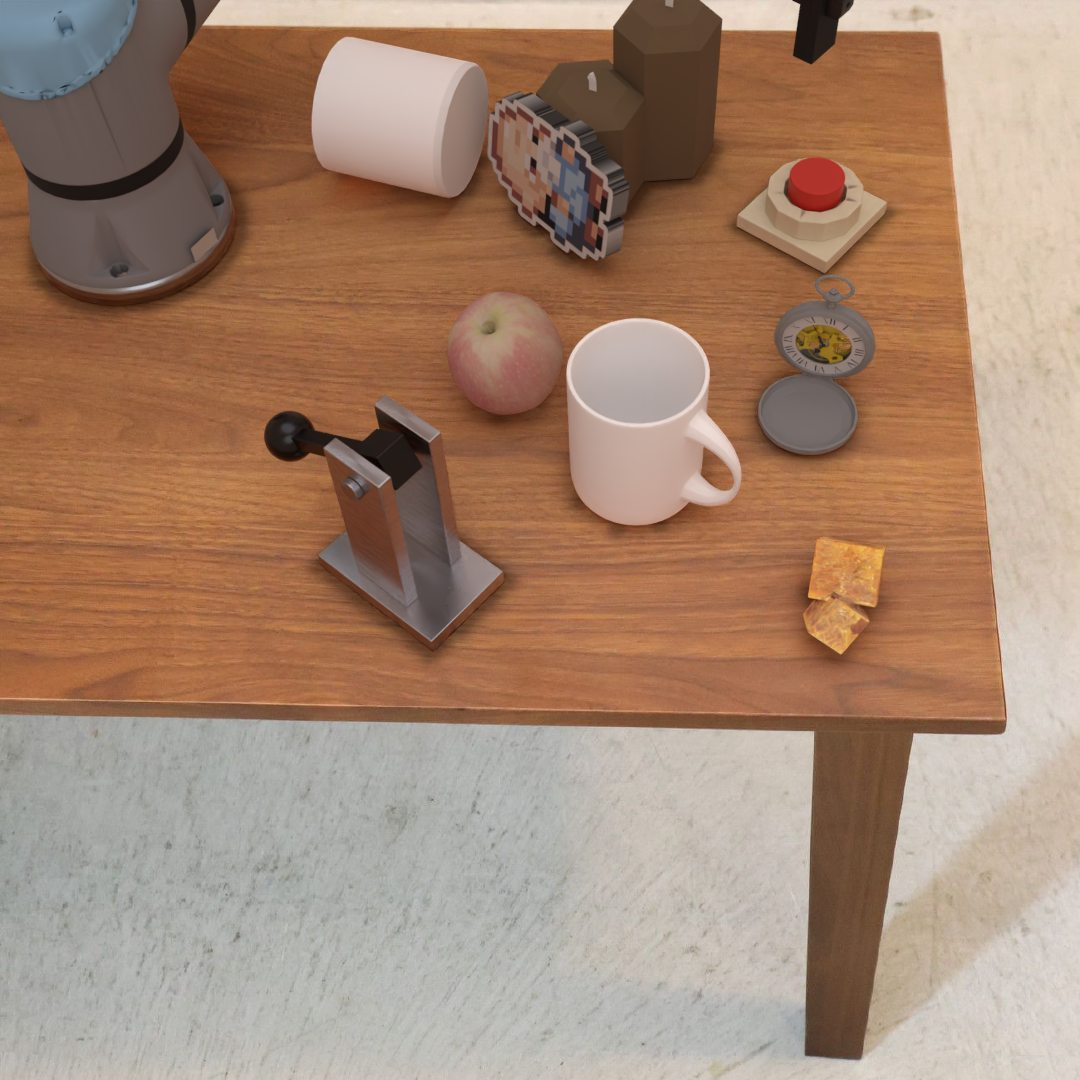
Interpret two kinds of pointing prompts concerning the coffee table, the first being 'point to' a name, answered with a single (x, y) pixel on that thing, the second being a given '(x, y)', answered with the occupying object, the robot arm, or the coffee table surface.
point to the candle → (648, 90)
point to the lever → (385, 449)
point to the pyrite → (842, 589)
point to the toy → (558, 175)
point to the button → (816, 184)
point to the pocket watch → (816, 374)
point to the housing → (811, 220)
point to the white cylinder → (400, 116)
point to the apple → (505, 353)
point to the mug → (642, 423)
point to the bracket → (405, 535)
